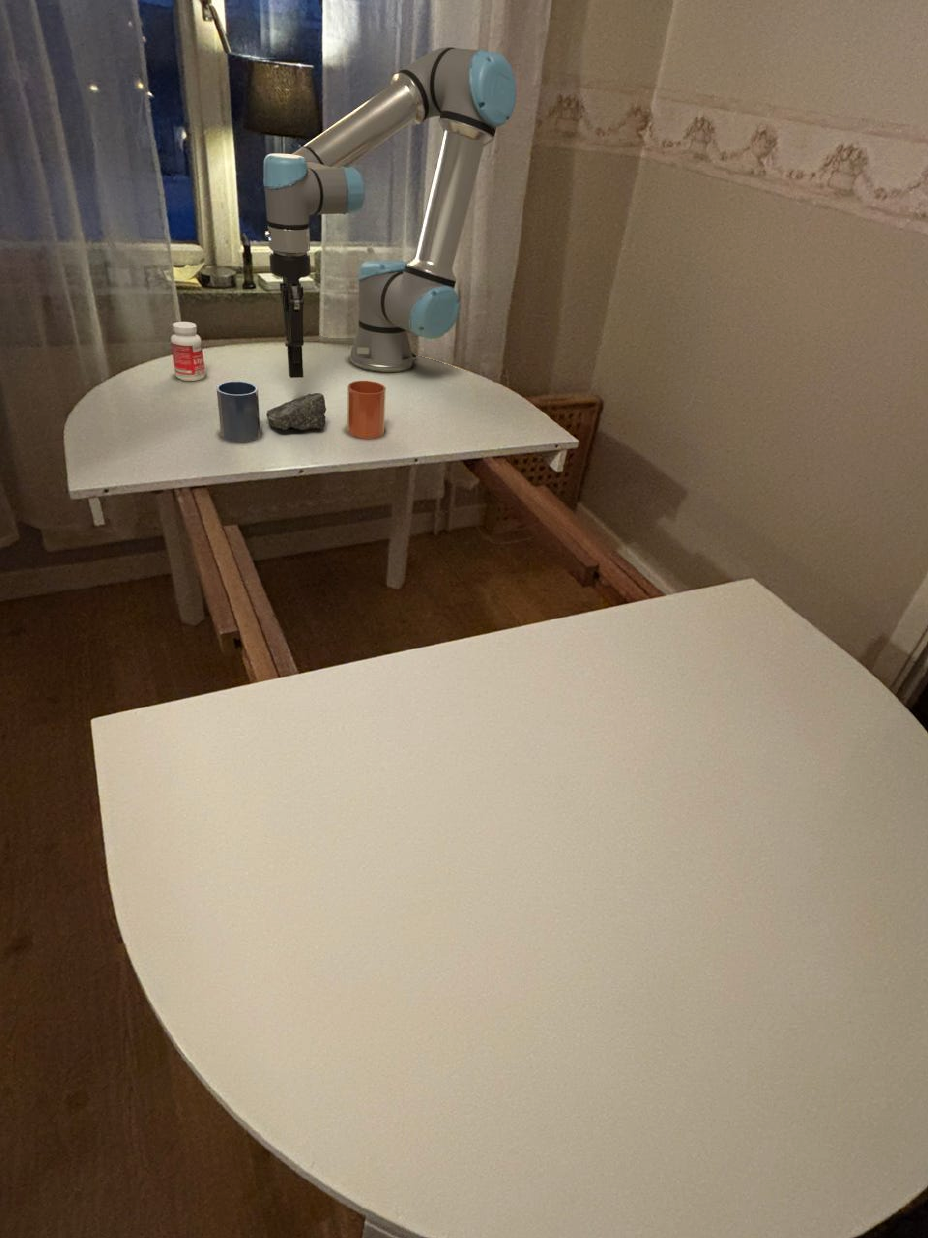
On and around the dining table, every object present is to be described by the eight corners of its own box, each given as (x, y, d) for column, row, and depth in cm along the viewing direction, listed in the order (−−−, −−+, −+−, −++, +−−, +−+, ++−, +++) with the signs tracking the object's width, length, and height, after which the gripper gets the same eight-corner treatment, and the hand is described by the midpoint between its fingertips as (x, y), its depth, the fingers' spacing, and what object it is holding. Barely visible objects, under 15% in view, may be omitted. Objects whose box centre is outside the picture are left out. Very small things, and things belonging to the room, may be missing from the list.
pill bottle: (199, 383, 159) (194, 330, 152) (171, 379, 159) (164, 326, 152) (209, 373, 164) (204, 322, 157) (181, 370, 164) (175, 318, 157)
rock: (265, 418, 147) (263, 389, 144) (321, 415, 151) (320, 387, 147) (272, 438, 141) (270, 408, 137) (329, 434, 144) (329, 405, 141)
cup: (258, 426, 144) (255, 381, 138) (262, 441, 138) (259, 394, 133) (219, 427, 141) (215, 381, 136) (222, 443, 136) (217, 395, 131)
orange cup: (379, 424, 151) (380, 380, 146) (387, 438, 146) (389, 393, 140) (344, 424, 149) (344, 380, 144) (351, 439, 144) (351, 394, 138)
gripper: (264, 243, 142) (273, 365, 156) (273, 259, 132) (282, 388, 146) (304, 244, 144) (309, 364, 158) (315, 260, 134) (320, 387, 149)
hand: (296, 376), depth 152 cm, fingers closed
